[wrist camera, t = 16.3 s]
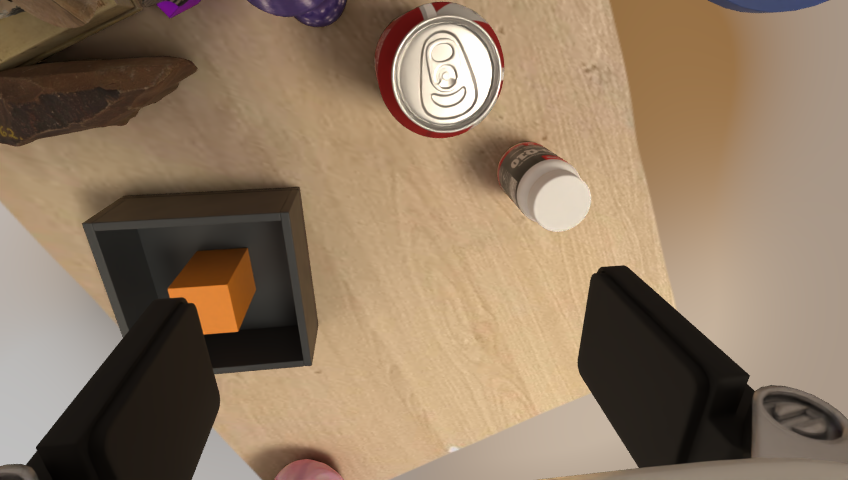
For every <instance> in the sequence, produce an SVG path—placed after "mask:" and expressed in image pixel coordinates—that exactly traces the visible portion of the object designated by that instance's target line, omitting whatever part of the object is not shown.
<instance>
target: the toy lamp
mask: <svg viewBox="0 0 848 480" xmlns="http://www.w3.org/2000/svg"><path fill="white" fill-rule="evenodd" d="M247 1H249V2H250V3H251V4H252V5H254V6H255V7H257V8H259V9H261V10H263V11H265V12H267V13H270V14H273V15H276V16H283V17H292V16H294V17H295V18H296V19H297V20H298V21H300V22H301V23H303V24H305V25H308V26H313V27H324V26H327V25H330V24H332V23H333V22H335V21H336V20H337V19H338V18H339V17H340V16H341V14H342V12H343V10H344V8H345V5H346V2H347V0H247Z"/></svg>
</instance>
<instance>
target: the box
mask: <svg viewBox="0 0 848 480" xmlns="http://www.w3.org/2000/svg"><path fill="white" fill-rule="evenodd" d="M141 10H143V8H142V6H141V5H140V3H139V1H138V0H98V1H97V7H96V11H95V14H94V16H93V17H92V18H91V20H90V21H89V23H86V24H85V25H83V26H81V27H77V28H62V27H58V26H54V25H52V24H49V23H47V22H45V21H42V20H40V19H39V18H37V17H35V16H33V15H31V14H30V13H28V12H27V11H25V12H21V13H18V14H16V15H12V16H9V17H5V18H2V19H0V71H3V70H7V69H11V68H17V67H24V66H30V65H33V64H35V63H37V62H39V61H41V60H43V59H45V58H47V57H49V56H51V55H53V54H55V53H57V52H59V51H61V50H63V49H65V48H67V47H69V46H71V45H73V44H75V43H77V42H79V41H81V40H83V39H85V38H86V37H88V36H90V35H92V34H94V33H96V32H98V31H100V30H102V29H104V28H106V27H108V26H110V25H112V24H114V23H116V22H118V21H120V20H122V19H124V18H126V17H128V16H130V15H133V14H135V13H137V12H139V11H141Z"/></svg>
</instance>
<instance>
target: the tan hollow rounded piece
mask: <svg viewBox="0 0 848 480" xmlns="http://www.w3.org/2000/svg"><path fill="white" fill-rule="evenodd" d="M97 1H98V0H0V19H2V18H5V17H9V16H12V15H16V14H18V13H21V12H25V11H27V12H28V13H30V14H31V15H33V16H35V17H37V18H39V19H40V20H42V21H45V22H47V23H49V24H52V25H54V26H58V27H62V28H77V27H81V26H83V25H85V24H86V23H89V21H90V20H91V18H92V17H93V16H94V14H95V11H96V7H97Z"/></svg>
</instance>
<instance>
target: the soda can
mask: <svg viewBox="0 0 848 480" xmlns="http://www.w3.org/2000/svg"><path fill="white" fill-rule="evenodd" d="M374 64H375V72H376V76H377V81H378V85H379V88H380V92H381V95H382V98H383V100H384V102H385V104H386V106H387V108H388V109H389V111H390V112H391V114H392V115H393V116H394V117H395V119H396V120H397V121H398V122H400V123H401V124H402V125H403V126H404V127H406V128H407V129H409V130H411V131H412V132H415V133H417V134H419V135H422V136H426V137H432V138H447V137H453V136H456V135H460V134H462V133H465V132H467V131H469V130H470V129H472V128H473V127H475V126H476V125H478V124H479V123H480V122H481V121H482V120H483V119H484V118H485V117H486V116H487V115H488V114H489V112H490V111H491V110H492V108H493V106H494V105H495V103H496V101H497V99H498V97H499V94H500V91H501V88H502V84H503V78H504V58H503V53H502V49H501V46H500V43H499V40H498V38H497V36H496V34H495V32H494V31H493V29H492V28H491V27H490V25H489V24H488V23H487V22H486V21H485V19H483V18H482V17H481V16H480V15H479V14H477V13H476V12H475V11H473V10H471V9H469V8H467V7H465V6H463V5H460V4H456V3H451V2H434V3H428V4H425V5H422V6H419V7H417V8H415V9H413V10H411V11H409V12H407V13H405V14H403V15H402V16H400V17H398V18H397V19H395V20H394V21H393V22H391V23H390V24H389V25H388V26H387V28H386V29H385V30H384V32H383V33H382V35H381V37H380V39H379V41H378V44H377V47H376V51H375V62H374Z"/></svg>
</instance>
